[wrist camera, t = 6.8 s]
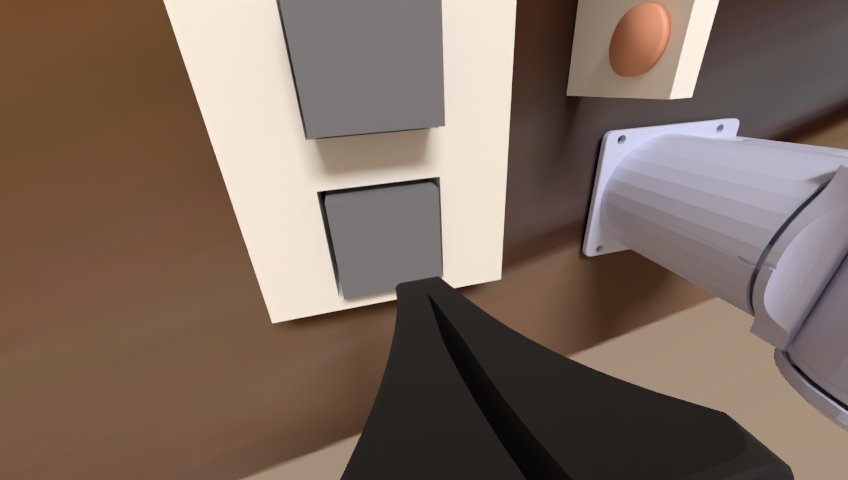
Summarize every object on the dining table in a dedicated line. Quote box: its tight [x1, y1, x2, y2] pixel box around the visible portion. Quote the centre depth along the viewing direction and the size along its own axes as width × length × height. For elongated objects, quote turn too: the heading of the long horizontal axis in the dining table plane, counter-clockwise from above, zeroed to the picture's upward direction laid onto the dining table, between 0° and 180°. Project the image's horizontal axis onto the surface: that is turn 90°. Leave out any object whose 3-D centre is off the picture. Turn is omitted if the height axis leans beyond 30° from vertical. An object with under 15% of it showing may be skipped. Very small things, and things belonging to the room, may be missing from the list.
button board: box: [164, 0, 516, 323], centre depth 13 cm, size 12×22×2 cm, turn 3°
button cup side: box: [325, 178, 442, 300], centre depth 16 cm, size 5×5×3 cm
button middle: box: [279, 0, 445, 139], centre depth 11 cm, size 5×5×3 cm
